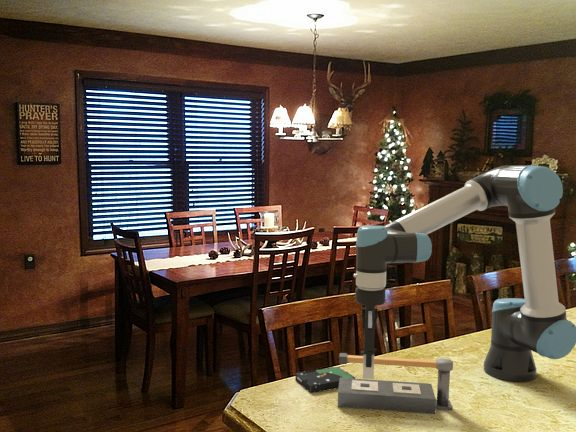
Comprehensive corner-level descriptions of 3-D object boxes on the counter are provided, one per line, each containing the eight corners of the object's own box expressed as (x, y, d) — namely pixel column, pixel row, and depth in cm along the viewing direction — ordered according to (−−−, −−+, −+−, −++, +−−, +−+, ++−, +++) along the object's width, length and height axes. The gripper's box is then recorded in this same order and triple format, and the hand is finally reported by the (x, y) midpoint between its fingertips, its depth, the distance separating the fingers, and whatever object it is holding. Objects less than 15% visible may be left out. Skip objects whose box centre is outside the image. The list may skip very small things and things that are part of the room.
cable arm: (451, 365, 146) (451, 358, 146) (454, 372, 142) (454, 364, 141) (339, 359, 150) (339, 351, 150) (339, 364, 146) (339, 357, 145)
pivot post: (449, 403, 147) (451, 367, 146) (452, 410, 143) (453, 373, 142) (432, 402, 148) (434, 366, 147) (435, 409, 143) (436, 372, 142)
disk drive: (311, 395, 152) (356, 386, 159) (311, 386, 152) (356, 377, 158) (294, 382, 161) (337, 373, 168) (294, 372, 161) (338, 364, 168)
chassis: (430, 397, 150) (431, 381, 150) (435, 414, 140) (435, 397, 140) (339, 391, 154) (339, 375, 153) (337, 406, 144) (338, 390, 143)
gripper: (355, 281, 145) (353, 367, 147) (355, 292, 132) (352, 387, 134) (384, 282, 144) (382, 369, 146) (386, 294, 131) (384, 389, 133)
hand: (368, 377), depth 140 cm, fingers closed
